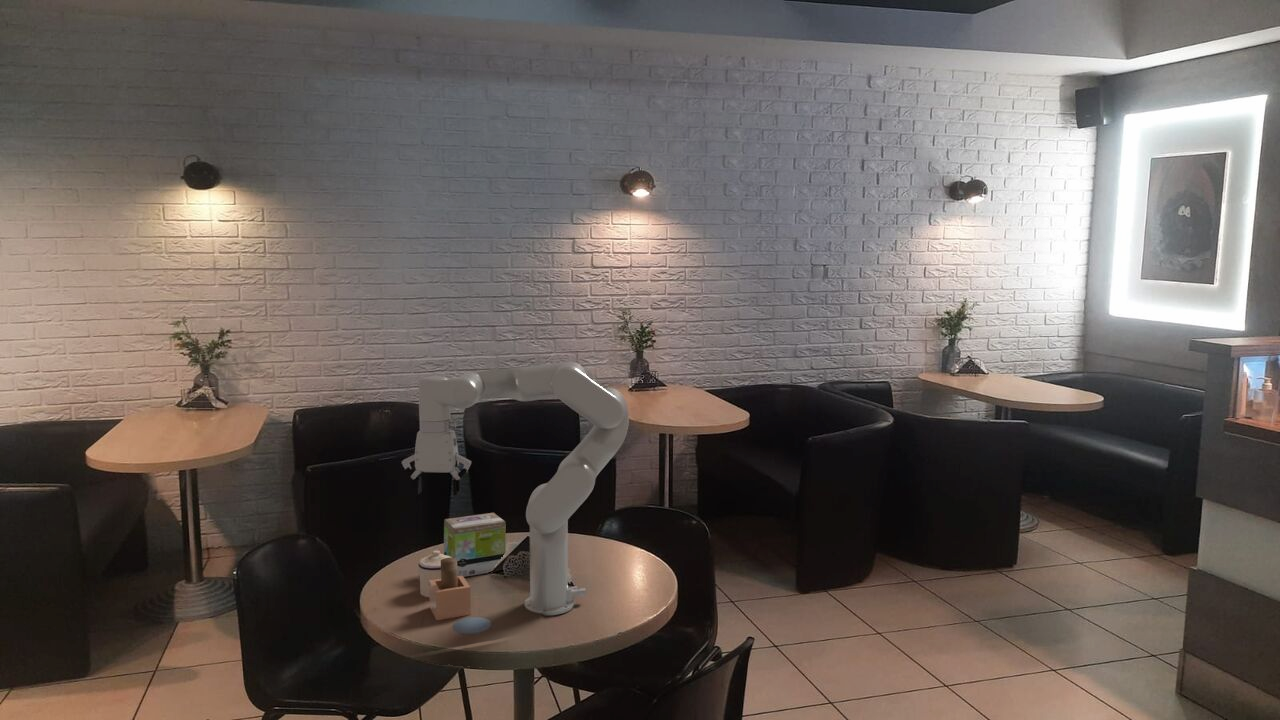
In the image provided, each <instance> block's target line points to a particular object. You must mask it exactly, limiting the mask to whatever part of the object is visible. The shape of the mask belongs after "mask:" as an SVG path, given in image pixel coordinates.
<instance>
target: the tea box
mask: <svg viewBox="0 0 1280 720" xmlns="http://www.w3.org/2000/svg"><path fill="white" fill-rule="evenodd" d="M443 521H444V522H443V551H444V552H443V553H444V554H443V555H447V556H450V557H452V558H456V559H457V573H458V576H463V577H464V578H466V577H471V576H477V575H484V573H485V574H489V573H488V572H490V571H491V570H492V569H493V568H494V567H495V565H496V564H497V563H498V561H499V560H500V559H501V557H503V555H504V554H505V553H506V535H507V534H506V526H507V525H506V521H505V520H504V519H502V518H501V517H500V516H499V515H497V514H496V513H495V512H490V513H488V512H487V513H482V514H474V515H467V516H460V517H453V518H452V517H451V518H445V519H444V520H443Z"/></svg>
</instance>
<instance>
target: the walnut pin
mask: <svg viewBox="0 0 1280 720" xmlns="http://www.w3.org/2000/svg"><path fill="white" fill-rule="evenodd" d="M455 587H458V573H457V559H456V558H444V559H442V560H441V590H443V589H449V588H455Z"/></svg>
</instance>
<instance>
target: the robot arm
mask: <svg viewBox="0 0 1280 720" xmlns="http://www.w3.org/2000/svg"><path fill="white" fill-rule="evenodd" d="M503 398H504V399H512V400H516V401H519V402H533V401H539V400H547V399H559V400H560V401H561V402H562V403H563V404H564V405H566V406H568V407H569V408H570V409H571V410H573V411H574V412H576V413H577V414H578V415H580V416H581V417H583V418H584V419H586V420H587V421H589V422H590V423H591V424H593V426H592V427H591V429H590V431H589V432H587V434H586V435H585V436H584V437H583V439H582V440H581V441H580V442H579V443H578V444H577V446H576V447H575V448H574V449H573V450H571V452H570V453H569V454H568V455H566V457H565V458H564V459H563V460H562V461H561V462H560V463H559V466H558V467H557V471H556V472H555V474H554V475H553V476H552V478H551V479H550V480H549V481H548V482H546V483H542V484H540V485H538V486H537V487H536V488H535V489H534V490H533V491H532V493H531V495H530V497H529V499H528V502H527V506H526V510H525V519H526V522H527V524H528V525H529V587H530V588H529V589H530V590H529V593H530V596H529V597H527V598H526V599H525V600H524V603H523V606H524V608H525V609H526V610H528V611H530V612H532V613H536V614H540V615H541V616H544V617H545V616H546V617H547V616H548V617H549V616H557V615H562V614H565V613H567V612H569V611H571V610H572V609H573V608H574V606H575V600H574V599H575V598H576V597H582V596H586V595H587V589H586V587H581V588H579V587H578V586H577V585H574V586H571V587H570V586H569V585H568V584H569V583H568V582H569V581H568V580H569V576H568V573H569V572H568V571H569V569H568V566H569V565H568V562H569V561H568V559H569V558H568V546H569V545H568V541H569V537H568V536H569V535H568V533H569V531H568V530H569V529H568V528H569V526H568V525H569V524H568V523H569V522H568V521H569V519H570V518H571V516H573V514H574V513H576V511H578V509H579V508H580V506H581V505H583V503H584V502H585V501H586V500H587V499H588V497H589V496H590V494H591V493H592V492H593V490H594V487H595V484H596V479H597V477H598V475H599V474H600V473H601V471H602V470H603V469H604V468H605V466H607V464H608V463H609V462H610V460H611V459H613V457H614V456H615V455H616V453H617V452H618V451H619V449H620V448H621V447H622V446H623V443H624V442H625V439H626V437H627V435H628V434H627V433H628V430H629V424H630V413H629V409H628V405H627V402H626V400H625V396H623V394H622V393H621V392H620V391H619V390H617V389H616V388H613V387H604V388H603V386H600V385H599V384H598V383H597V382H595V381H594V380H593V379H591V378H590V377H589V376H587V372H586V370H585V368H584V367H583V366H582V365H581V364H579V363H578V362H575V361H565V362H557V363H547V364H538V365H528V366H520V367H519V366H517V367H509V368H496V369H495V368H494V369H484V370H478V371H477V370H476V371H470V372H464V373H462V374H461V375H460V376H458V377H455V378H452V379H451V378H448V377H446V376H443V375H442V376H441V375H431V376H429V375H428V376H424V377H422V378H420V379H419V380H418V409H419V411H418V412H419V414H418V415H419V416H418V417H419V431H418V432H416V439H415V448H414V454H412V455H410V456H408V457H406V458H405V459H403V460H402V461H401V464H402V467H403V468H404V470H405V473H407V474H408V475H409V476H410V478H411V479H412V490H413V491H414V495H415V496H418V495H420V494H421V493H423V492H422V491H423V490H422V487H423V486H422V476H421V475H420V474H422V473H450V475H452V477H453V478H454V479H453V480H452V495H453V496H458V495H459V494H460V493H461V491H462V478H463V476H464V475H465V474H466V473H468V470H469V469H470V467H471V465H472V460H470V459H468V458H466V457H464V456H462V455H460V454H459V448H458V447H459V446H458V441H457V435H456V431H455V430H452V429H454V428H457V425H458V424H457V422H456V421H453V420H452V417H451V408H458V409H467V408H471V407H473V406H474V405H475V404H476V403H477V402H478V401H483V400H493V399H503ZM412 462H414V468H413V467H412V466H411V464H410V463H412ZM459 464H462V465H463V467H462V469H461V470H460V468H458V467H459Z"/></svg>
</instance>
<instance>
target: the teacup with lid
mask: <svg viewBox="0 0 1280 720" xmlns="http://www.w3.org/2000/svg"><path fill="white" fill-rule="evenodd" d="M444 558H452V557H450V556H447V555H444V554H443V553H441V551H440V550H433V551H432V552H431V554H429V555H428V556H425V557H423V558H421V559H420V560H419V562H418V567H419V590H420V591H419V592H420V593H419V594H420V595H421V596H422V597H424V598H425V597H426V598H430V595H429V580H436V579H441V560H442V559H444Z"/></svg>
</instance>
